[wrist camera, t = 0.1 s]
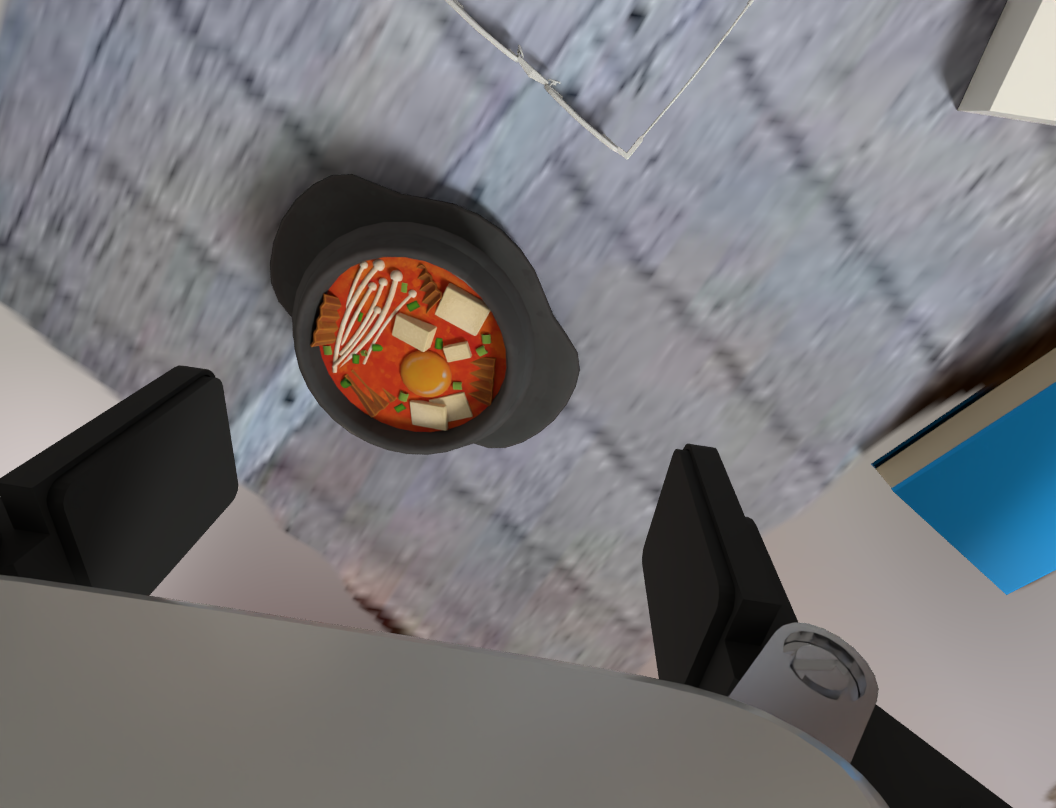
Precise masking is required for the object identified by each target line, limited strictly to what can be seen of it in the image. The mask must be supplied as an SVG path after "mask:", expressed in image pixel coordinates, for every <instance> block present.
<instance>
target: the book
mask: <svg viewBox="0 0 1056 808" xmlns="http://www.w3.org/2000/svg"><path fill="white" fill-rule="evenodd" d="M871 465H872V466H873V467H874V468H875V469H876V470H877V471H878V472H879V474H880V475H881V476H882V477H883V478H884V480H885V481H886V482H887V483H888V484H889V485H890V487H891V489H892V490H893V492H894V493H896V494H897V495H898V496H899V497H900V498H901V499H902V500H903V501H904V502H905V503H906V504H908V505H909V506H910V507H911V508H912V509H913V510H914V511H915V512H916V513H917V514H918V515H920V516H921V517H922V518H923V519H924V520H925V521H926V522H927V523H928V524H929V525H931V526H932V527H933V528H934V529H935V530H936V531H937V532H938V533H939V534H940V535H941V536H943V537H944V538H945V539H946V540H947V541H948V542H949V543H950V544H951V545H952V546H954V547H955V548H956V549H957V550H958V551H959V552H960V553H961V554H962V555H963V556H964V557H966V558H967V559H968V560H969V561H970V562H971V563H972V564H973V565H974V566H975V567H977V568H978V569H979V570H980V571H981V572H982V573H983V574H984V575H985V576H986V577H987V578H989V579H990V580H991V581H992V582H993V583H994V584H995V585H996V586H997V587H998V588H999V589H1001V590H1002V591H1003V592H1004V593H1005V594H1006V595H1008V594H1009V593H1011V592H1013V591H1015V590H1017V589H1019V588H1021V587H1023V586H1025V585H1027V584H1029V583H1031V582H1033V581H1035V580H1037V579H1039V578H1041V577H1043V576H1045V575H1047V574H1049V573H1051V572H1053V571H1055V570H1056V348H1054V349H1053V350H1052V351H1050V352H1049V353H1047V354H1046V355H1044V356H1043V357H1041V358H1040V359H1038V360H1037V361H1035V362H1034V363H1032V364H1031V365H1029V366H1028V367H1026V368H1025V369H1023V370H1022V371H1020V372H1019V373H1017V374H1016V375H1014V376H1013V377H1011V378H1010V379H1008V380H1007V381H1006V382H1004V383H1003V384H1001V385H1000V386H998V387H991V388H988V389H985V390H982V391H977V392H976V393H974V394H973V395H971V396H970V397H969V398H967V399H966V400H964V401H963V402H961V403H960V404H958V405H957V406H955V407H954V408H952V409H951V410H949V411H948V412H946V413H945V414H944V415H942V416H941V417H939V418H938V419H936V420H935V421H934V422H932V423H930V424H929V425H928V426H926V427H924V428H923V429H922V430H920V431H919V432H917V433H916V434H914V435H913V436H911V437H910V438H908V439H907V440H905V441H904V442H902V443H901V444H899V445H898V446H897V447H895V448H894V449H892V450H891V451H889V452H888V453H886V454H885V455H883V456H882V457H880V458H879V459H877V460H876V461H874V462H873V463H872V464H871Z"/></svg>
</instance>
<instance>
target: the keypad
mask: <svg viewBox="0 0 1056 808" xmlns="http://www.w3.org/2000/svg"><path fill="white" fill-rule="evenodd" d="M957 111H962V112H969V113H975V114H982V115H988V116H995V117H1001V118H1008V119H1014V120H1021V121H1027V122H1034V123H1040V124H1047V125H1053V126H1056V0H1008V1H1007V3H1006V5H1005V7H1004V9H1003V12H1002V14H1001V16H1000V18H999V20H998V23H997V25H996V27H995V29H994V31H993V34H992V36H991V38H990V40H989V42H988V45H987V47H986V49H985V51H984V53H983V56H982V58H981V60H980V62H979V64H978V66H977V69H976V71H975V73H974V75H973V77H972V80H971V82H970V84H969V86H968V88H967V91H966V93H965V95H964V97H963V99H962V102H961V104H960V106H959V108H958V110H957Z"/></svg>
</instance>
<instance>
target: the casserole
mask: <svg viewBox="0 0 1056 808" xmlns="http://www.w3.org/2000/svg"><path fill="white" fill-rule="evenodd" d="M270 270H271V284H272V286H273V289H274V291H275V294H276V296H277V299H278V302H279V303H280V304H281V305H282V306H283V307H284V309H285V310H286V311H287V312H288V313H289V314H290V315H291V317H292V323H293V338H294V347H295V352H296V357H297V361H298V365H299V369H300V371H301V373H302V376H303V378H304V380H305V382H306V385H307V387H308V389H309V390H310V392H311V393H312V395H313V396H314V397H315V399H316V400H317V402H318V403H319V405H320V406H321V407H322V408H323V409H324V410H325V411H326V412H327V413H328V414H329V415H330V417H331V418H332V419H333V420H334V421H336V422H337V423H338V424H340V425H341V426H342V427H343V428H345V429H346V430H347V431H349V432H350V433H351V434H353V435H355V436H357V437H359V438H360V439H362V440H364V441H366V442H368V443H370V444H373V445H375V446H378V447H381V448H384V449H386V450H390V451H395V452H400V453H405V454H424V455H429V454H436V453H443V452H448V451H451V450H454V449H458V448H461V447H464V446H467V445H470V444H473V443H474V444H477V445H481V446H484V447H487V448H506V447H510V446H513V445H516V444H519V443H522V442H524V441H526V440H527V439H529V438H531V437H533V436H534V435H536V434H538V433H539V432H541V431H542V430H543V429H544V428H545V427H547V426H548V425H549V424H550V423H551V422H553V421H554V420H555V419H556V417H557V416H558V415H559V413H560V412H561V411H562V410H563V408H564V407H565V406H566V405H567V403H568V401H569V399H570V397H571V395H572V393H573V391H574V389H575V387H576V383H577V379H578V375H579V371H580V367H579V360H578V352H577V351H576V349H575V347H574V346H573V344H572V342H571V341H570V339H569V338H568V336H567V334H566V333H565V331H564V330H563V328H562V327H561V326H560V324H559V323H558V321H557V320H556V318H555V317H554V315H553V313H552V311H551V308H550V306H549V303H548V301H547V298H546V296H545V293H544V291H543V289H542V286H541V284H540V281H539V279H538V277H537V274H536V272H535V270H534V268H533V267H532V265H531V264H530V262H529V261H528V259H527V258H526V256H525V255H524V253H523V252H522V250H521V249H520V248H519V247H518V246H517V245H516V244H515V243H514V242H513V241H512V240H511V239H510V238H509V237H508V236H507V235H506V234H505V233H504V232H503V231H502V230H501V229H500V228H498V227H497V226H495V225H494V224H492V223H491V222H489V221H488V220H486V219H485V218H483V217H482V216H480V215H479V214H477V213H474V212H472V211H470V210H467V209H465V208H463V207H460V206H458V205H456V204H453V203H448V202H443V201H437V200H432V199H427V198H422V197H417V196H411V195H406V194H401V193H399V192H396V191H393V190H391V189H388V188H386V187H383V186H381V185H378V184H376V183H373V182H370V181H368V180H365V179H363V178H360V177H358V176H355V175H353V174H348V175H332V176H329V177H327V178H325V179H323V180H321V181H319V182H317V183H315V184H313V185H312V186H311V187H310V188H309V189H308V190H306V191H305V192H304V193H303V194H302V195H301V196H300V197H299V198H297V199H296V200H295V202H294V203H293V205H292V206H291V208H290V209H289V210H288V212H287V213H286V215H285V216H284V217H283V219H282V221H281V224H280V226H279V229H278V231H277V234H276V237H275V239H274V242H273V248H272V254H271V260H270Z"/></svg>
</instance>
